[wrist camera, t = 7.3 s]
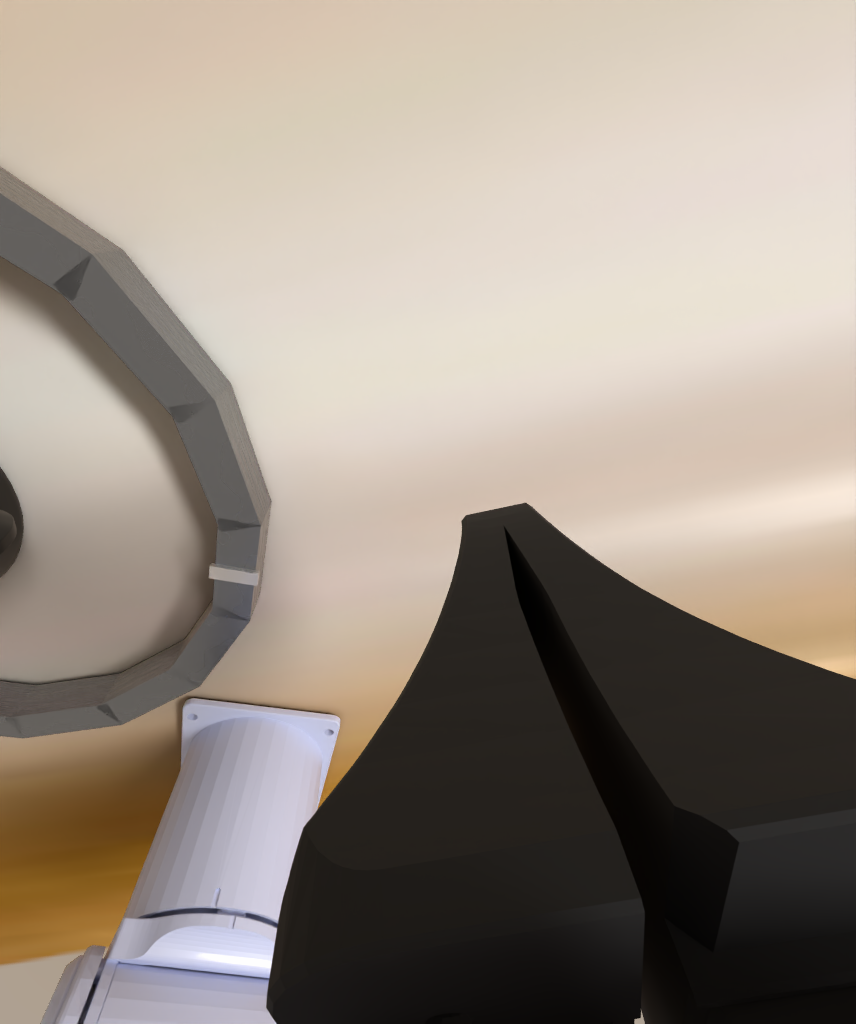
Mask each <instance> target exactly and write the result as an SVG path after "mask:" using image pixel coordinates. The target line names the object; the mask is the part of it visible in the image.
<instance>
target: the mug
mask: <svg viewBox="0 0 856 1024" xmlns="http://www.w3.org/2000/svg"><path fill="white" fill-rule="evenodd" d="M22 536H23V515H22V511H21V507H20V504H19V501H18V498H17V496H16V493H15V491H14V489H13V487H12V485H11V483H10V481H9V480H8V478H7V476H6V475H5V473H4V472H3V470H2V469H1V467H0V577H2V576H3V575H4V574H5V573H6V572H7V571H8V569H9V568H10V567H11V565H12V564H13V563H14V561H15V559H16V557H17V555H18V553H19V550H20V547H21V542H22Z"/></svg>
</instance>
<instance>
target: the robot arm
mask: <svg viewBox="0 0 856 1024" xmlns="http://www.w3.org/2000/svg"><path fill="white" fill-rule="evenodd" d="M339 728H340V719H339V717H337V716H335V715H330V714H322V713H314V712H305V711H297V710H289V709H280V708H272V707H264V706H255V705H247V704H239V703H230V702H222V701H214V700H205V699H197V698H191V699H188V700H187V701H185V704H184V706H183V710H182V744H181V770H180V773H179V775H178V778H177V780H176V783H175V785H174V788H173V791H172V793H171V796H170V798H169V801H168V804H167V806H166V809H165V811H164V814H163V816H162V819H161V822H160V824H159V827H158V829H157V832H156V835H155V837H154V840H153V842H152V845H151V847H150V850H149V853H148V855H147V858H146V860H145V863H144V865H143V868H142V871H141V873H140V876H139V878H138V881H137V884H136V886H135V889H134V891H133V894H132V896H131V899H130V902H129V904H128V907H127V909H126V912H125V915H124V917H123V919H122V921H121V923H120V925H119V927H118V930H117V932H116V934H115V936H114V938H113V940H112V942H111V944H110V946H109V948H108V951H107V953H106V955H105V957H104V959H103V958H102V956H103V954H104V950H105V947H104V946H96V945H92V946H90V947H88V948H87V949H86V951H85V953H84V955H80V956H78V957H77V958H76V959H74V960H73V961H72V962H70V963H69V964H68V965H67V966H66V968H65V970H64V972H63V974H62V976H61V978H60V981H59V983H58V985H57V987H56V989H55V992H54V994H53V996H52V998H51V1001H50V1003H49V1005H48V1007H47V1010H46V1012H45V1014H44V1016H43V1019H42V1021H41V1023H40V1024H634V1019H637V1018H640V1017H641V1010H642V1013H643V1017H644V1021H645V1024H856V679H853V678H850V677H847V676H843V675H841V674H838V673H835V672H832V671H829V670H826V669H823V668H821V667H818V666H815V665H812V664H810V663H807V662H804V661H801V660H799V659H796V658H793V657H790V656H788V655H785V654H782V653H779V652H777V651H774V650H772V649H769V648H767V647H764V646H762V645H759V644H757V643H754V642H752V641H749V640H747V639H744V638H742V637H739V636H737V635H735V634H733V633H730V632H728V631H726V630H724V629H721V628H719V627H717V626H715V625H712V624H710V623H708V622H706V621H703V620H701V619H699V618H697V617H695V616H693V615H691V614H689V613H687V612H685V611H683V610H680V609H678V608H677V607H675V606H673V605H671V604H669V603H667V602H665V601H663V600H662V599H660V598H658V597H656V596H654V595H652V594H650V593H649V592H647V591H645V590H643V589H641V588H640V587H638V586H636V585H635V584H633V583H632V582H630V581H628V580H627V579H625V578H624V577H622V576H621V575H619V574H618V573H616V572H614V571H613V570H611V569H610V568H608V567H607V566H605V565H604V564H603V563H601V562H600V561H598V560H597V559H595V558H594V557H593V556H591V555H590V554H589V553H587V552H586V551H585V550H583V549H582V548H581V547H579V546H578V545H577V544H575V543H574V542H573V541H571V540H570V539H569V538H568V537H566V536H565V535H564V534H563V533H561V532H560V531H559V530H558V529H556V528H555V527H554V526H553V525H552V524H551V523H549V522H548V521H547V520H546V519H545V518H544V517H543V516H541V515H540V514H539V513H538V512H537V511H536V510H535V509H534V508H533V507H531V506H530V505H528V504H527V503H522V504H518V505H513V506H508V507H503V508H499V509H494V510H489V511H484V512H480V513H475V514H470V515H466V516H465V517H464V519H463V520H462V537H461V544H460V549H459V555H458V559H457V563H456V567H455V571H454V575H453V579H452V582H451V585H450V588H449V591H448V594H447V597H446V600H445V603H444V605H443V608H442V611H441V614H440V616H439V619H438V621H437V624H436V626H435V629H434V631H433V633H432V635H431V638H430V640H429V642H428V644H427V646H426V648H425V650H424V652H423V654H422V656H421V658H420V660H419V662H418V664H417V666H416V668H415V670H414V671H413V673H412V675H411V677H410V679H409V681H408V682H407V684H406V686H405V688H404V689H403V691H402V693H401V695H400V696H399V698H398V700H397V701H396V703H395V704H394V706H393V708H392V709H391V711H390V712H389V714H388V715H387V717H386V718H385V720H384V721H383V723H382V724H381V725H380V727H379V728H378V730H377V731H376V733H375V734H374V736H373V737H372V739H371V740H370V742H369V743H368V745H367V746H366V748H365V749H364V751H363V752H362V753H361V755H360V756H359V758H358V759H357V760H356V762H355V763H354V764H353V766H352V767H351V768H350V770H349V771H348V772H347V773H346V775H345V776H344V777H343V778H342V780H341V781H340V782H339V783H338V785H337V786H336V787H335V788H334V790H333V791H332V792H331V793H330V795H329V796H328V797H327V799H326V800H325V801H324V802H323V804H322V805H321V806H320V807H319V809H318V810H317V808H318V804H319V801H320V797H321V793H322V790H323V786H324V782H325V779H326V775H327V772H328V768H329V764H330V761H331V757H332V753H333V750H334V746H335V742H336V739H337V735H338V732H339Z"/></svg>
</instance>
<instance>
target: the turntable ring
mask: <svg viewBox="0 0 856 1024" xmlns="http://www.w3.org/2000/svg"><path fill="white" fill-rule="evenodd" d="M0 256H1V257H3V258H4V259H6V260H7V261H9V262H11V263H12V264H14V265H16V266H17V267H19V268H20V269H22V270H24V271H25V272H27V273H28V274H30V275H32V276H33V277H35V278H36V279H38V280H40V281H41V282H43V283H44V284H46V285H48V286H49V287H51V288H53V289H54V290H56V291H57V292H59V293H61V294H62V295H63V296H64V297H65V298H66V299H67V300H68V301H69V303H70V304H71V305H72V306H73V307H74V308H75V309H76V310H77V311H78V313H79V314H80V315H81V316H82V317H83V318H84V319H85V320H86V321H87V322H88V324H89V325H90V326H91V327H92V328H93V329H94V330H95V331H96V332H97V334H98V335H99V336H100V337H101V338H102V339H103V340H104V341H105V342H106V343H107V345H108V346H109V347H110V348H111V349H112V350H113V351H114V352H115V353H116V355H117V356H118V357H119V358H120V359H121V360H122V361H123V362H124V363H125V364H126V366H127V367H128V368H129V369H130V370H131V371H132V372H133V373H134V374H135V376H136V377H137V378H138V379H139V380H140V381H141V382H142V383H143V384H144V385H145V387H146V388H147V389H148V390H149V391H150V392H151V393H152V394H153V395H154V397H155V398H156V399H157V400H158V401H159V402H160V403H161V404H162V405H163V406H164V408H165V409H166V410H167V411H168V412H169V413H170V414H171V415H172V417H173V419H174V421H175V424H176V426H177V428H178V431H179V433H180V436H181V438H182V440H183V443H184V445H185V448H186V450H187V452H188V455H189V457H190V460H191V462H192V464H193V467H194V469H195V472H196V474H197V476H198V479H199V481H200V483H201V486H202V488H203V491H204V493H205V495H206V498H207V500H208V503H209V505H210V507H211V510H212V512H213V515H214V517H215V519H216V522H217V524H218V530H217V545H216V561H215V563H211V564H210V567H209V578H210V579H214V592H213V600H212V602H211V603H210V604H209V606H208V607H207V609H206V610H205V611H204V613H203V614H202V616H201V617H200V619H199V620H198V621H197V623H196V624H195V626H194V627H193V629H192V630H191V631H190V633H189V634H188V636H187V637H186V639H185V640H183V641H181V642H179V643H177V644H175V645H173V646H171V647H169V648H168V649H166V650H164V651H162V652H160V653H158V654H156V655H154V656H152V657H150V658H148V659H147V660H145V661H143V662H141V663H139V664H137V665H135V666H133V667H131V668H129V669H128V670H126V671H124V672H122V673H120V674H114V675H106V676H99V677H92V678H85V679H77V680H70V681H63V682H56V683H48V684H41V685H30V684H21V683H13V682H4V681H0V736H6V737H16V738H29V737H36V736H43V735H51V734H58V733H65V732H73V731H80V730H87V729H95V728H102V727H109V726H117V725H123V724H125V723H127V722H129V721H131V720H133V719H135V718H137V717H139V716H141V715H143V714H145V713H147V712H149V711H151V710H153V709H155V708H157V707H159V706H161V705H163V704H165V703H167V702H169V701H171V700H173V699H175V698H177V697H179V696H181V695H183V694H185V693H187V692H189V691H191V690H193V689H195V688H197V687H199V686H200V685H201V684H202V683H203V681H204V680H205V679H206V677H207V676H208V675H209V674H210V672H211V671H212V670H213V668H214V667H215V666H216V664H217V663H218V662H219V660H220V659H221V658H222V657H223V655H224V654H225V653H226V651H227V650H228V649H229V647H230V646H231V645H232V644H233V642H234V641H235V640H236V638H237V637H238V636H239V634H240V633H241V632H242V631H243V629H244V628H245V627H246V625H247V624H248V623H249V621H250V619H251V616H252V614H253V611H254V608H255V605H256V603H257V600H258V597H259V594H260V589H261V580H262V572H263V564H264V556H265V548H266V540H267V532H268V524H269V516H270V508H271V499H270V496H269V493H268V490H267V487H266V485H265V482H264V479H263V476H262V473H261V470H260V467H259V464H258V461H257V458H256V455H255V452H254V449H253V447H252V444H251V441H250V438H249V435H248V432H247V429H246V426H245V423H244V420H243V417H242V414H241V411H240V408H239V406H238V403H237V400H236V397H235V394H234V391H233V388H232V385H231V383H230V382H229V381H228V380H227V378H226V377H225V376H224V375H223V373H222V372H221V371H220V370H219V368H218V367H217V366H216V365H215V363H214V362H213V361H212V360H211V358H210V357H209V356H208V355H207V354H206V352H205V351H204V350H203V349H202V347H201V346H200V345H199V344H198V342H197V341H196V340H195V339H194V337H193V336H192V335H191V334H190V332H189V331H188V330H187V329H186V327H185V326H184V325H183V324H182V323H181V321H180V320H179V319H178V318H177V316H176V315H175V314H174V313H173V311H172V310H171V309H170V308H169V306H168V305H167V304H166V303H165V301H164V300H163V299H162V298H161V296H160V295H159V294H158V293H157V292H156V290H155V289H154V288H153V287H152V285H151V284H150V283H149V282H148V280H147V279H146V278H145V277H144V275H143V274H142V273H141V272H140V270H139V269H138V268H137V267H136V265H135V264H134V263H133V262H132V261H131V259H130V258H129V257H128V256H127V254H126V253H125V252H124V250H122V249H121V248H119V247H118V246H116V245H115V244H113V243H112V242H110V241H109V240H107V239H106V238H105V237H103V236H102V235H100V234H99V233H97V232H96V231H94V230H93V229H91V228H90V227H88V226H87V225H85V224H84V223H82V222H81V221H80V220H78V219H77V218H75V217H74V216H72V215H71V214H69V213H68V212H66V211H65V210H63V209H62V208H60V207H59V206H57V205H56V204H55V203H53V202H52V201H50V200H49V199H47V198H46V197H44V196H43V195H41V194H40V193H38V192H37V191H35V190H34V189H32V188H31V187H29V186H28V185H27V184H25V183H24V182H22V181H21V180H19V179H18V178H16V177H15V176H13V175H12V174H10V173H9V172H7V171H6V170H4V169H3V168H2V167H0Z"/></svg>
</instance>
